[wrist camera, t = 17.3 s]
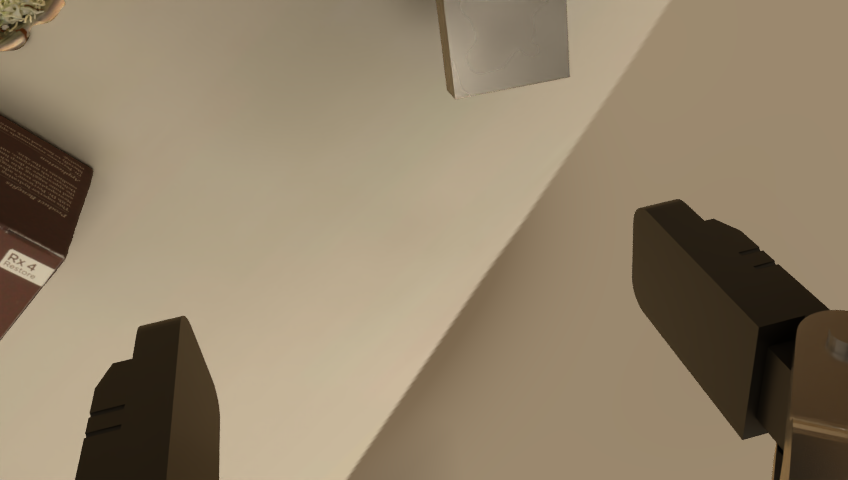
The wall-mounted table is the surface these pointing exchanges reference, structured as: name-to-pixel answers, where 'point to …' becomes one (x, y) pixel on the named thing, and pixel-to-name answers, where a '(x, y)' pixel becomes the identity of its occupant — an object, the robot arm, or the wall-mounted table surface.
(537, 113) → the wall-mounted table surface
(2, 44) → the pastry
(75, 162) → the box
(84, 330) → the wall-mounted table surface
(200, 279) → the wall-mounted table surface
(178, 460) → the robot arm
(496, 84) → the grey rectangular block
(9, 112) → the wall-mounted table surface
